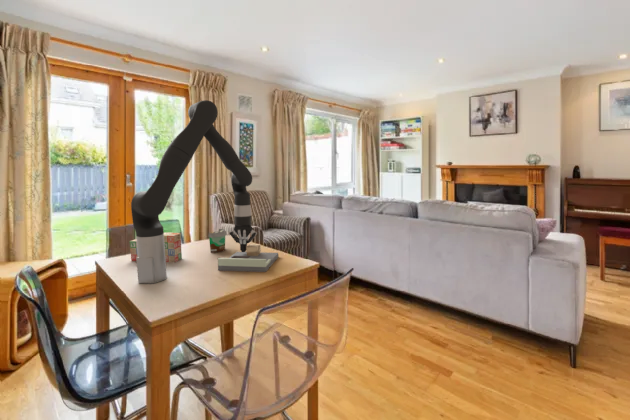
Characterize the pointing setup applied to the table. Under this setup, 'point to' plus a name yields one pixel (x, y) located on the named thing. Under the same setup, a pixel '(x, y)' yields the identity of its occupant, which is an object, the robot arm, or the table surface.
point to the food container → (217, 241)
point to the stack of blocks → (171, 247)
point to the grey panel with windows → (247, 262)
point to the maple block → (253, 250)
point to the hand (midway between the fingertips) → (243, 251)
